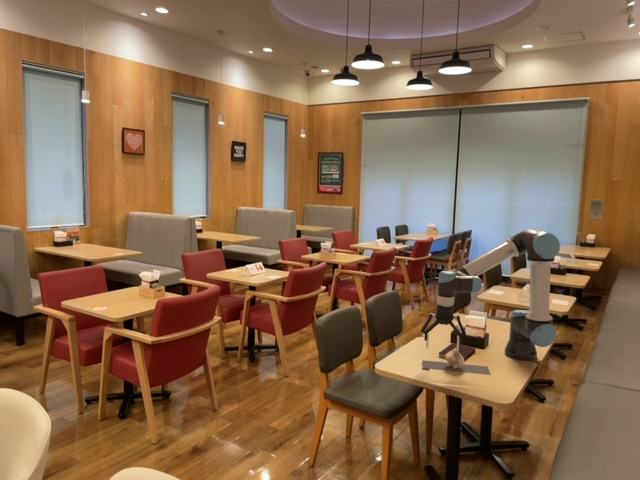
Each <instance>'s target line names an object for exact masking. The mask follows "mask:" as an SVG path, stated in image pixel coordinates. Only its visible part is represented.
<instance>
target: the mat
mask: <svg viewBox="0 0 640 480" xmlns="http://www.w3.org/2000/svg"><path fill="white" fill-rule="evenodd" d="M422 370H425V371H430V370H438V371H448V372H458V373H467V374H468V373H469V374H476V375H477V374H479V375H488V376H491V375H492V374H491V372H490V369H489V366H486V365H477V364H476V365H475V364H465V363H463V364H462V365H460V366H459V367H457V368H455V369H453V368H452V366H451V365H450V364H449V363H448V362H446V361H445V362H442V361H434V360H422Z"/></svg>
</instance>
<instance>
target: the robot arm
mask: <svg viewBox="0 0 640 480" xmlns="http://www.w3.org/2000/svg"><path fill="white" fill-rule="evenodd" d="M560 250H561V243H560V240H559V238H558V237H557V236H556V235H555V234H553V233H551V232H549V231H543V230H538V229H537V230H536V229H531V228H530V229H526V230H522V231H520V232H519V233H516V234H515V235H513V236H510V237H509V238H507V239H506V240H505V242H504V243H502V244H500V245H499V246H497V247H495V248H494V249H492V250H490V251H487V252H486V253H484V254H482V255H480V256H479V257H477V258H476V259H473V260H471V262H468V263H466V264H465V265H464V264H463V266H461V267H459V268H457V269H455V268H454V269H450V270H442V271H440V272H439V275H438V280H437V282H438V284H437V299H436V303H437V304H436V311H435V313H432V312H429V316H428V317H427V319H426V321H425V323H424V324H423V325H422V327H421V329H420V332H421V333H422V334H423V335H424V338H423V339H424V341H425V342H426V345H425V346H426V347H425V348H426V349H429V337H430V332H432V330H433V329H434V328H436V327H437V325H445V326H449V325H450V327H451V328H452V329H453V330H454V332H455V334H457V336H456V343H457V348H456V350H457V351H459V344H462V342H463V338H464V337H465V338H466V337H467V333H466V330H465V328H464V327H463V324H462V321H461V317H460V315H459V314H457V315H454V304H455V295H456V294H455V293H471V294H474V293H479V292H480V291H481V290H482V286H483V284H482V280H481V278H480V277H479V276H480V275H482V274H484V273H485V272H487V271H489V270H491V269H493V268H495V267H496V266H499V265H500V264H501V263H502V264H503V262H505V261H507V260H509V259H511V258H513V257H519V256H521V255H523V254H524V255H525V254H526V260H527V262H529V263H530V267H529V271H530V272H529V273H530V274H529V299H528V300H529V301H528V302H529V306H528V307H529V309H528V310H527V309H526V310H525V309H515V310H513V311H512V312H511V313H510V327H509V338H508V341H507V343H506V345H505V348H504V354H505V355H506V356H508V357H509V358H512V359H515V360H519V361H533V360H536V359H537V358H538V351H537V348H536V346H537V347H540V348H546V347H549V346H552V344H553V343H554V342H555V341H556V339H557V337H558V330H557V328H556V327H555V326H554V325H553V316H552V315H551V314H550V298H551V297H550V293H551V292H550V291H551V265H552V264H553V263H554V262H555V257H557V255H558V254H559V253H560ZM434 318H435V320H434V322H433V323H432V324H431V325H429V324H430V323H431V321H432V319H434ZM453 320H455V321H456V322H457V323H458V326H459V329H460V330H461V332H462V333H461V332H460V330H459V329H458V328H457V326H456V325H455V324H454V322H453Z"/></svg>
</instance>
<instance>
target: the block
mask: <svg viewBox="0 0 640 480" xmlns="http://www.w3.org/2000/svg"><path fill="white" fill-rule="evenodd" d="M445 357H446V358H445V360H446V361H447V363H449V364H450V365H451V366H452V368H453V369H455V368H457V367H459V366H460V365H462V364H465V361H464V358H463V357H462V355H461V354H460V353H459V351H457V350H456V348H454V349H453V350H451V351H450V352H448V353H447V354H445Z"/></svg>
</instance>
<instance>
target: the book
mask: <svg viewBox="0 0 640 480" xmlns="http://www.w3.org/2000/svg"><path fill="white" fill-rule="evenodd" d="M454 348H457V342H452V343H450V344H449V345H448V346H446V347H445V348H444V349H442V350H440V351H439V352H438V357H439V358H443V359H446V357H445V354H447V353H448V352H450V351H451V350H453V349H454ZM476 350H477V349H476V347H472V346H468V345H465V344H462V343H461V344H459V353H460V354H461V355H462V357H463V358H464V362H465V361H466V360H467V359H468V358H469V357H471V356H472V355H474V354H475V353H476Z"/></svg>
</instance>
